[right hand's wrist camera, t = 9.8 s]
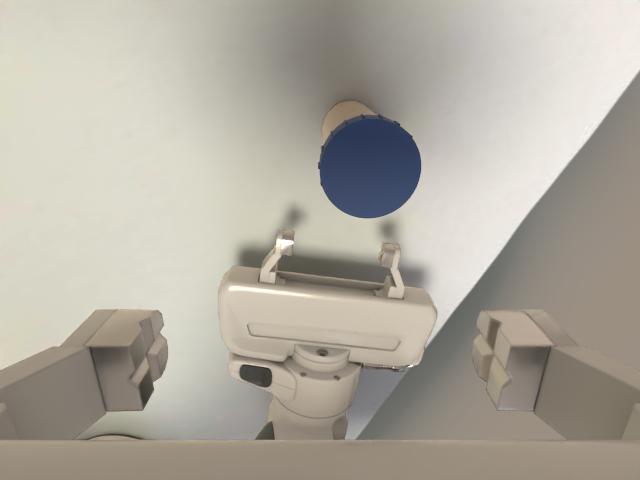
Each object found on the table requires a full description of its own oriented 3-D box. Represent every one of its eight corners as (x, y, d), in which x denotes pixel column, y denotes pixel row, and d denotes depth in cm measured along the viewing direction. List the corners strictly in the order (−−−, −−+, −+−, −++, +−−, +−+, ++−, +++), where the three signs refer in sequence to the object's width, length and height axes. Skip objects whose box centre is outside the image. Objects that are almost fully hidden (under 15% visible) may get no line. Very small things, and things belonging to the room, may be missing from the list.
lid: (367, 226, 26) (371, 237, 24) (298, 167, 24) (297, 175, 23) (434, 159, 24) (443, 166, 22) (364, 91, 23) (369, 93, 21)
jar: (350, 167, 38) (370, 226, 24) (310, 132, 37) (307, 173, 23) (388, 126, 37) (431, 165, 23) (348, 88, 35) (368, 103, 21)
